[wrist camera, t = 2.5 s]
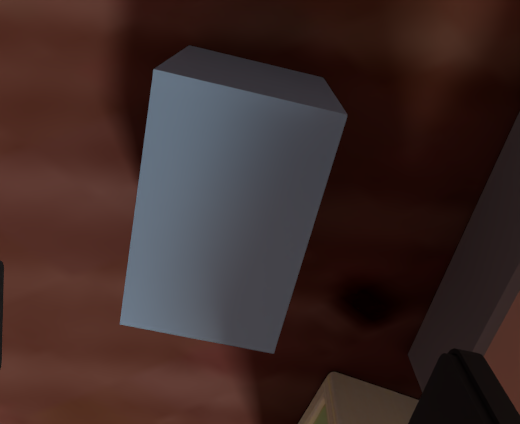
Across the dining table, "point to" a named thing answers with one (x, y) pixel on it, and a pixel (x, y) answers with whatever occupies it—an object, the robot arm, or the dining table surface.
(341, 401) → the toy refrigerator
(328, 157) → the slate brick
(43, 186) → the dining table surface
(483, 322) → the pink and grey block
